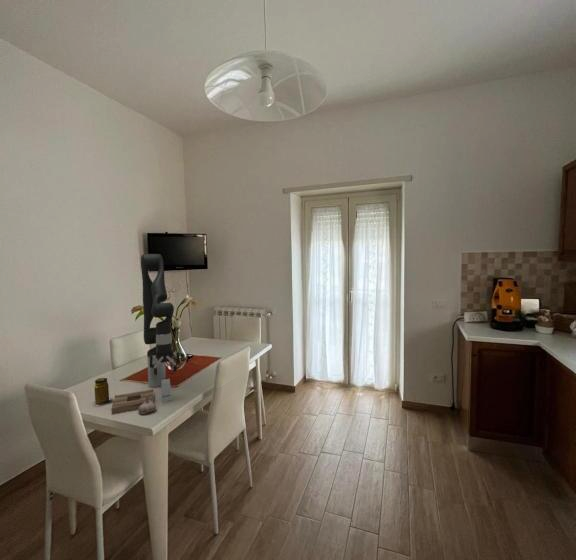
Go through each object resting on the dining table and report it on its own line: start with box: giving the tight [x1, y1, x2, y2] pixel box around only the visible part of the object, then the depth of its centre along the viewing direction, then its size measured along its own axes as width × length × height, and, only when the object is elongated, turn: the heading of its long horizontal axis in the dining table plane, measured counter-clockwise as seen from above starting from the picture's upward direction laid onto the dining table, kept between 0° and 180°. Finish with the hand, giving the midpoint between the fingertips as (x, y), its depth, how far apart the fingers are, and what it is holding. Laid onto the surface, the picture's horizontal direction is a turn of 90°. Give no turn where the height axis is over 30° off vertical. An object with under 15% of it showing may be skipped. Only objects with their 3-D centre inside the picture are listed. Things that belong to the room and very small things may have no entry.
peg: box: [161, 378, 172, 403], centre depth 158 cm, size 4×4×10 cm
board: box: [111, 388, 155, 415], centre depth 155 cm, size 15×18×3 cm
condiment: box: [93, 377, 114, 408], centre depth 157 cm, size 7×8×12 cm
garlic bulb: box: [137, 396, 157, 415], centre depth 146 cm, size 8×7×8 cm
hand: (165, 373), depth 158 cm, fingers open, 8 cm apart
